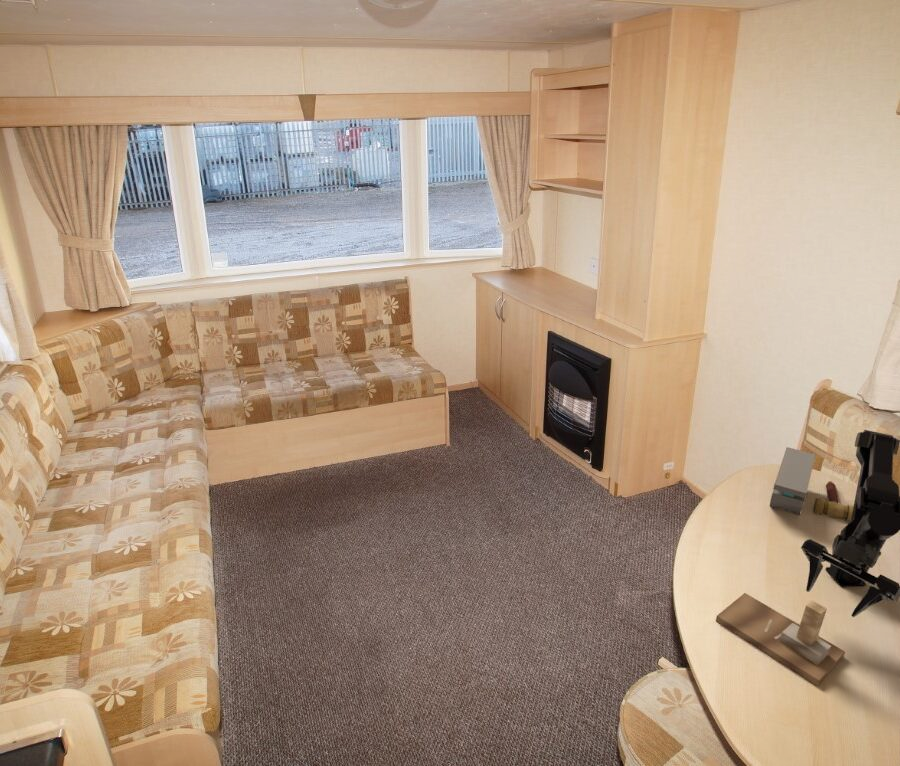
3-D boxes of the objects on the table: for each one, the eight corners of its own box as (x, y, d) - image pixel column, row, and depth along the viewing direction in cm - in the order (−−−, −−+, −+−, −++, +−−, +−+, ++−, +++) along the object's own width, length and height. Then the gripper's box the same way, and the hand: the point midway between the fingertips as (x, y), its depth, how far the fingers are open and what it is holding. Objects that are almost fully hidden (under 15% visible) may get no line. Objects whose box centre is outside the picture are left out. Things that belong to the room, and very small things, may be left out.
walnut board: (715, 620, 144) (716, 615, 143) (743, 597, 150) (744, 592, 150) (817, 686, 128) (819, 680, 127) (843, 656, 135) (845, 651, 134)
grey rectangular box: (796, 527, 176) (806, 493, 172) (765, 517, 180) (774, 484, 176) (806, 485, 196) (815, 454, 191) (778, 477, 200) (786, 447, 195)
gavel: (813, 471, 198) (850, 479, 194) (809, 484, 200) (846, 492, 196) (817, 501, 180) (858, 511, 176) (813, 516, 182) (853, 525, 178)
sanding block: (779, 641, 137) (791, 600, 132) (789, 631, 139) (802, 591, 135) (817, 665, 131) (831, 623, 126) (828, 655, 133) (842, 613, 129)
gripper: (815, 507, 139) (778, 568, 137) (913, 552, 125) (873, 621, 124) (823, 524, 146) (788, 582, 145) (916, 569, 133) (879, 633, 131)
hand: (829, 603), depth 136 cm, fingers open, 9 cm apart
